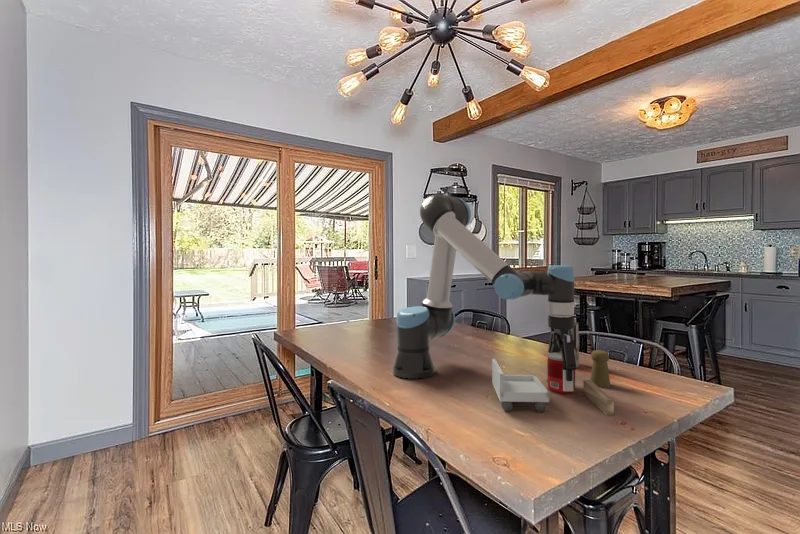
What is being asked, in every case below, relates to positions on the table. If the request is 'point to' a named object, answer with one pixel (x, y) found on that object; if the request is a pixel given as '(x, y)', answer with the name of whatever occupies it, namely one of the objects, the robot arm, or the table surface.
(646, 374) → the table surface
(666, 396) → the table surface
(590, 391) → the bar
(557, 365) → the canned food
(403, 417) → the table surface
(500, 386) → the cart
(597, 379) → the cork
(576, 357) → the coffee box
